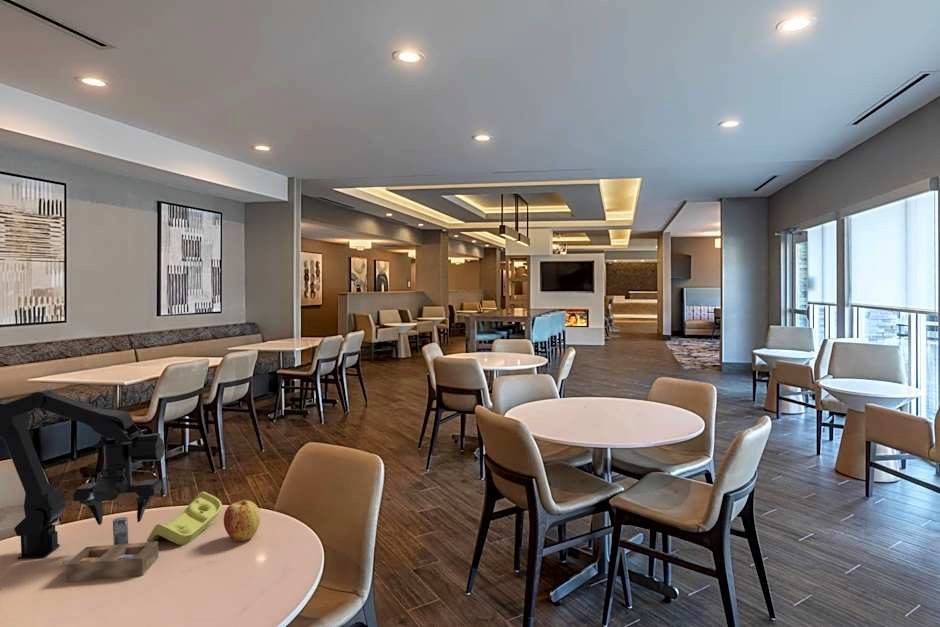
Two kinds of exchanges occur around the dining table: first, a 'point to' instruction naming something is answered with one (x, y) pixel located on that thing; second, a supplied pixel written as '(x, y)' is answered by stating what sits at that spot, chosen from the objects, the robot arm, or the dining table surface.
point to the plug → (120, 530)
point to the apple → (242, 520)
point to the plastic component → (189, 520)
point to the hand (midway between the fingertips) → (119, 522)
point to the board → (112, 561)
